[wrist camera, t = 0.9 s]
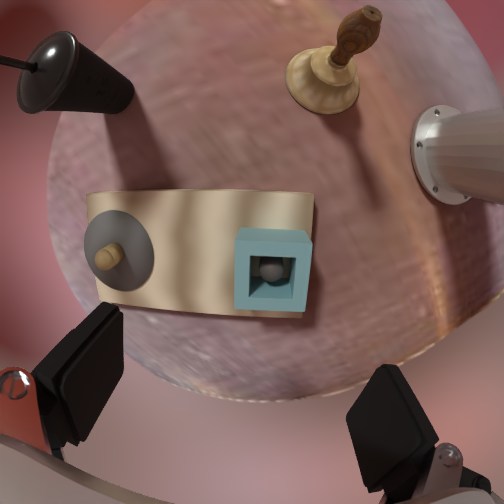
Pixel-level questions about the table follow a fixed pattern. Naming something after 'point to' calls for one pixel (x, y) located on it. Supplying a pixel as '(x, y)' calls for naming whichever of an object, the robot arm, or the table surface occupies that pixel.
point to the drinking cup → (68, 79)
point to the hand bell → (333, 65)
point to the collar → (278, 292)
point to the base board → (185, 245)
